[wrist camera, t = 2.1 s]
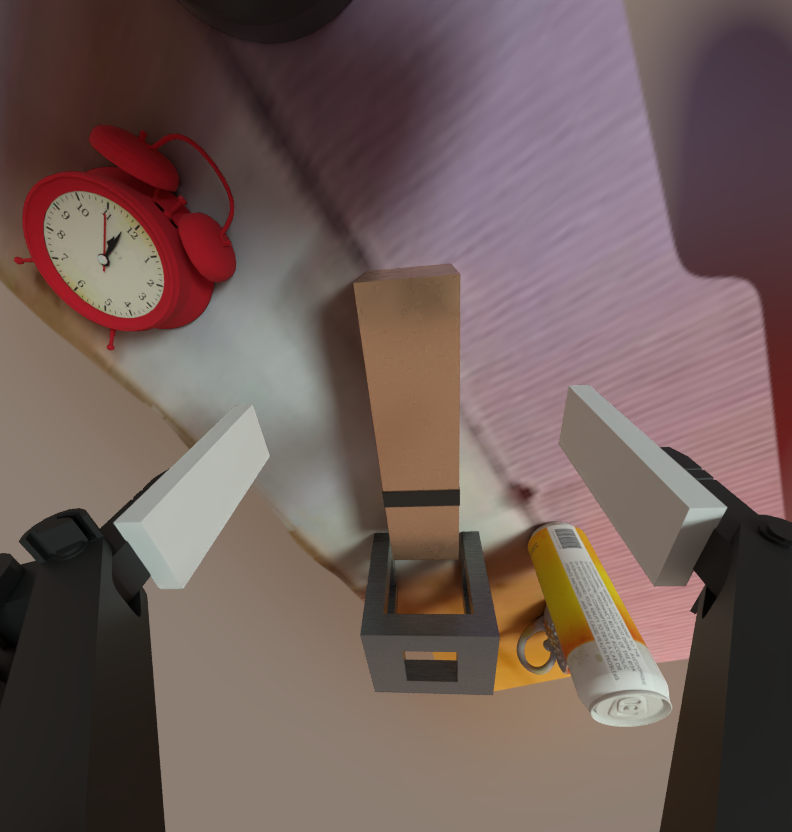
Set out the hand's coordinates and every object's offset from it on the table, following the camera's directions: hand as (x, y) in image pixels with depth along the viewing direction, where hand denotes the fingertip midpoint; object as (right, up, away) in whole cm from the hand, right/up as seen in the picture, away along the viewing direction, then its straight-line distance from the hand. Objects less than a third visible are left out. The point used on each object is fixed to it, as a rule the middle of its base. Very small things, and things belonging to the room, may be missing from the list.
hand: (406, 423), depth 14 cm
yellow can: (+17, -13, +22) cm, 31 cm away
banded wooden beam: (+2, +1, +15) cm, 16 cm away
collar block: (+3, -17, +25) cm, 31 cm away
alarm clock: (-17, +13, +10) cm, 24 cm away
